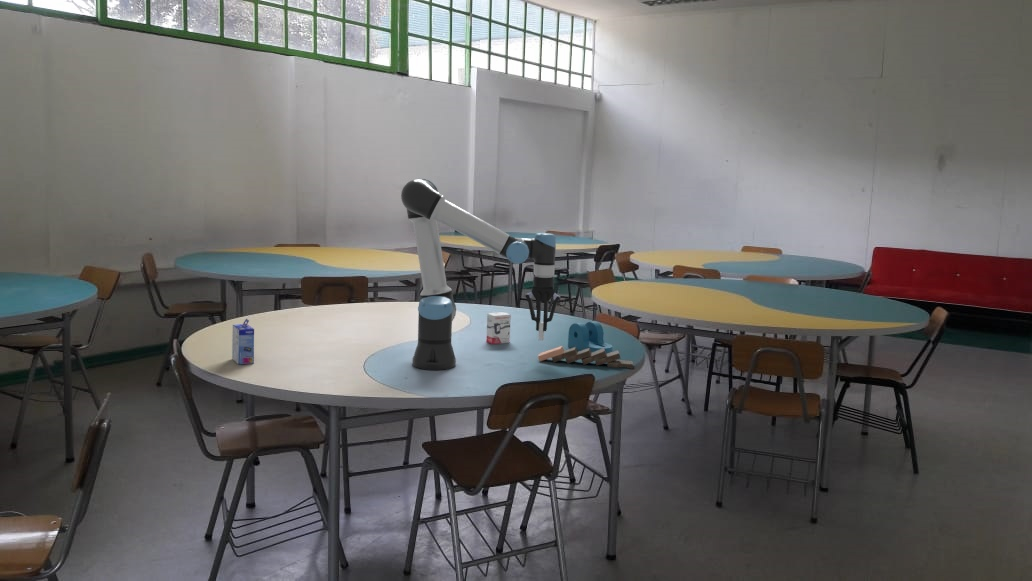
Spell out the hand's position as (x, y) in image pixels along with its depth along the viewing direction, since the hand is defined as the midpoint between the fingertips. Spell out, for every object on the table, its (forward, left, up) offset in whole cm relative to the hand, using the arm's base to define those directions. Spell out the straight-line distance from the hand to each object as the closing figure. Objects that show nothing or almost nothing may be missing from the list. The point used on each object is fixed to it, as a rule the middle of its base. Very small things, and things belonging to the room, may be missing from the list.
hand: (540, 339), depth 276 cm
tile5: (+12, -17, -7) cm, 21 cm away
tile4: (+9, -13, -7) cm, 17 cm away
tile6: (+14, -20, -7) cm, 26 cm away
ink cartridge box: (-85, +60, -8) cm, 105 cm away
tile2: (+3, -4, -7) cm, 8 cm away
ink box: (+8, +30, -8) cm, 32 cm away
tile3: (+6, -8, -7) cm, 12 cm away
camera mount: (+28, -2, -8) cm, 29 cm away
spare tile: (0, 0, -7) cm, 7 cm away
